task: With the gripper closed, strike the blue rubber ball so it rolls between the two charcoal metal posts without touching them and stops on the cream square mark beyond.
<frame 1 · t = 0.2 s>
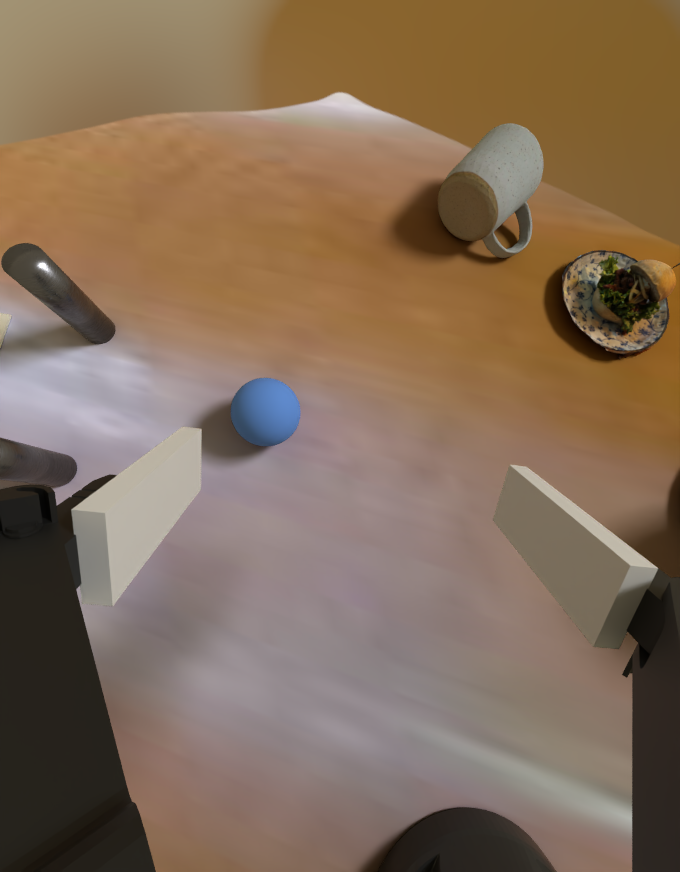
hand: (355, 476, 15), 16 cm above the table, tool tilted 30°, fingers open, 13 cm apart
ceramic mug: (479, 225, 39), on the table
plate of salad: (601, 310, 39), on the table
ball: (266, 412, 29), on the table
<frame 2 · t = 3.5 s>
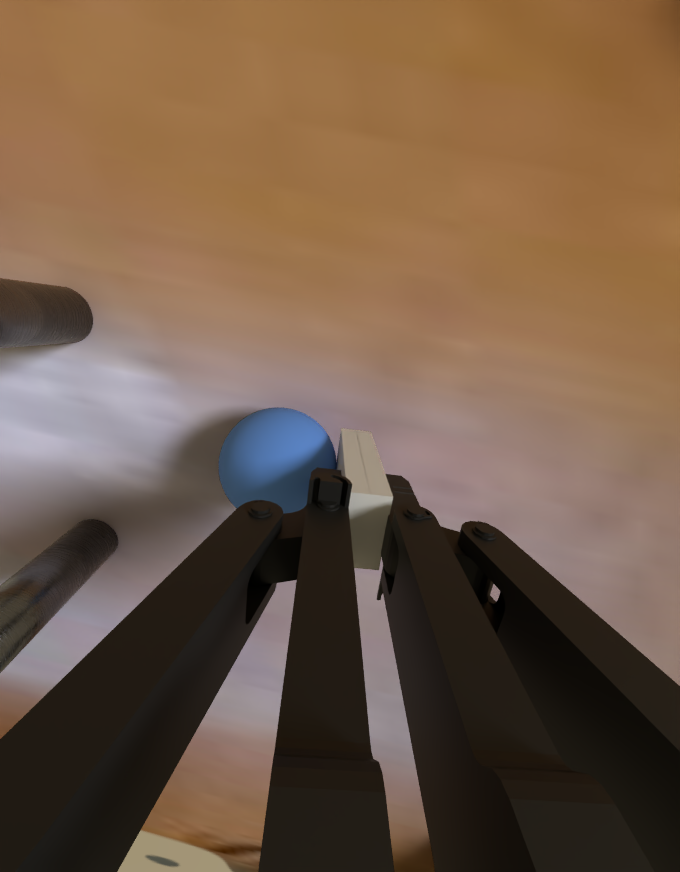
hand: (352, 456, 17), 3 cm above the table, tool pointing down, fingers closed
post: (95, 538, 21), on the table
ball: (279, 465, 17), on the table
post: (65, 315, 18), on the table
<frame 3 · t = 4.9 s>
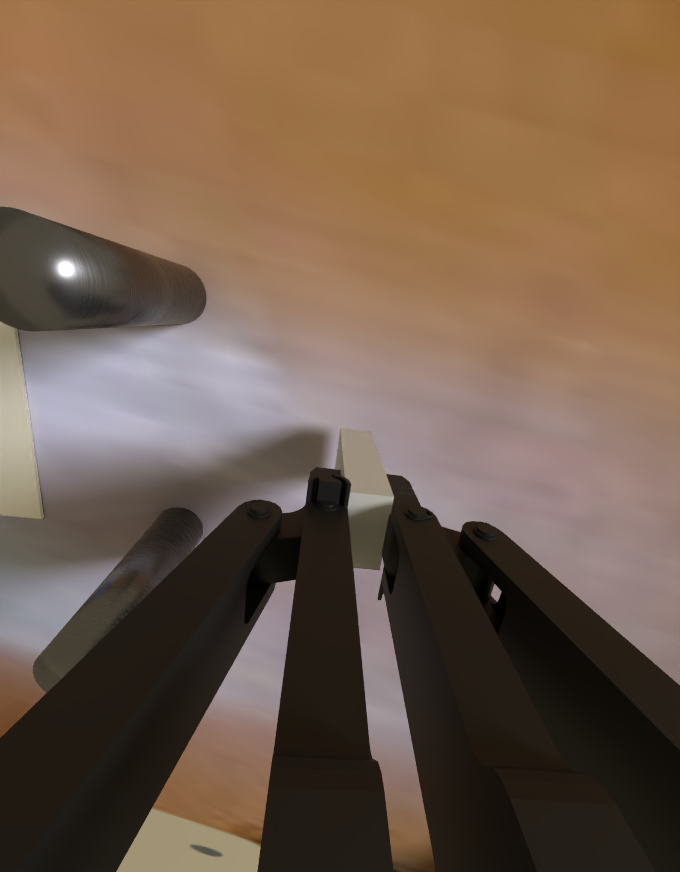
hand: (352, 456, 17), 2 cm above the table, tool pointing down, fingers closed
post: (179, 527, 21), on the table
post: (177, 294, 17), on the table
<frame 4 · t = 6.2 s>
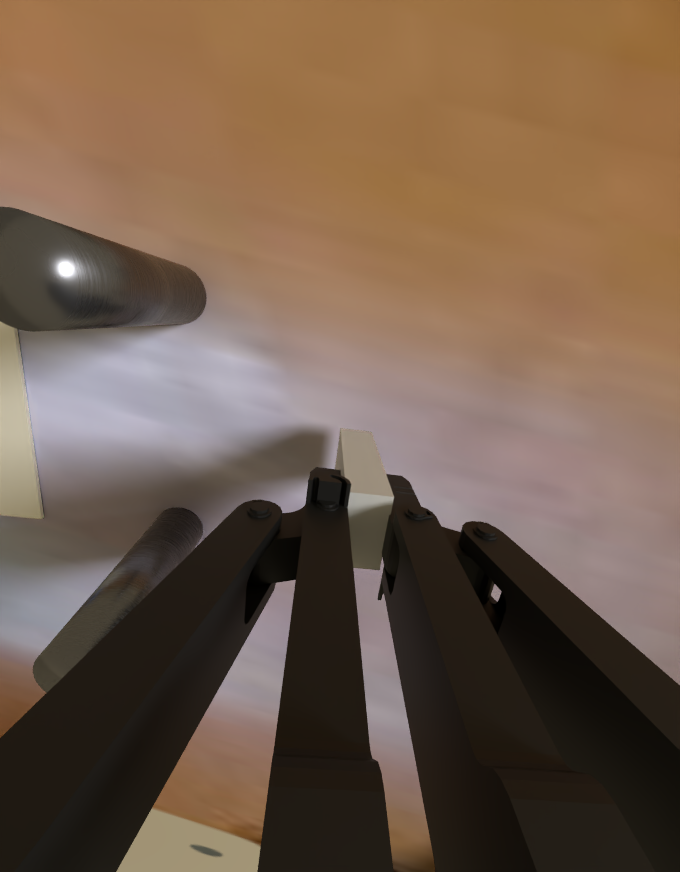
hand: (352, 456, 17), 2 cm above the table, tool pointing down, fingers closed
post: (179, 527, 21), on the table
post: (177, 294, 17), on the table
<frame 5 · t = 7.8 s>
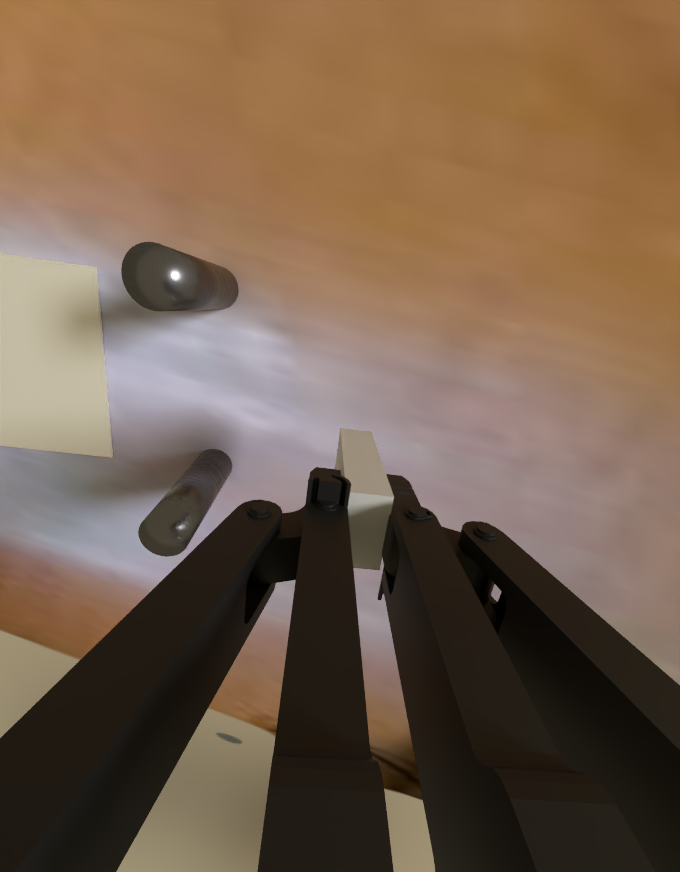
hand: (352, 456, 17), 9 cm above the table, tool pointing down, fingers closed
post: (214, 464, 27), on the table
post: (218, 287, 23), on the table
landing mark: (6, 358, 24), on the table
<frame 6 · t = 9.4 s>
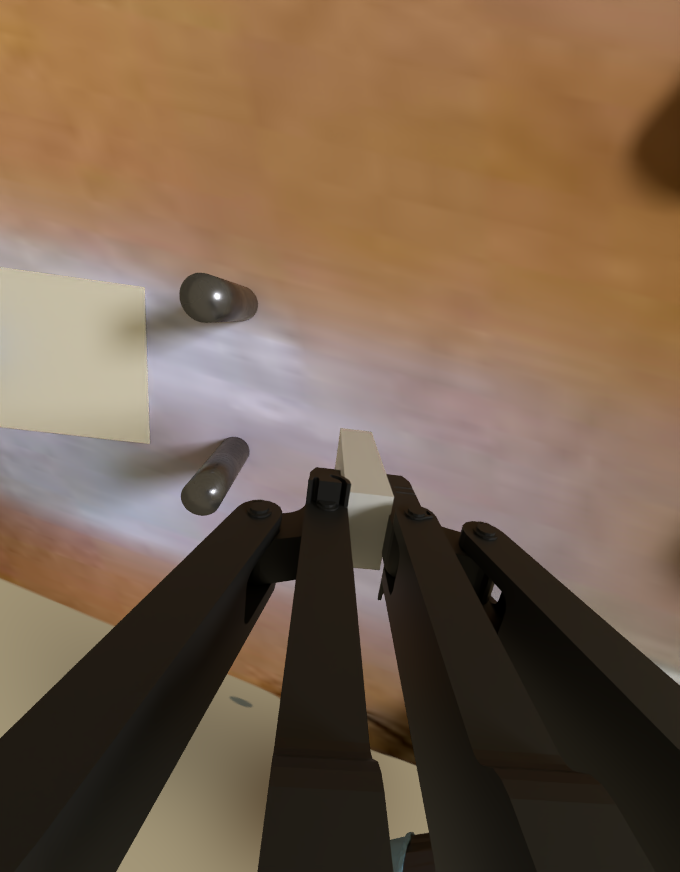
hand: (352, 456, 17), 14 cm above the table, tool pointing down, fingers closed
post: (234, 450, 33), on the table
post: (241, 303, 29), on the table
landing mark: (66, 360, 30), on the table
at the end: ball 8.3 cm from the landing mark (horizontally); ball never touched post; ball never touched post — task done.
